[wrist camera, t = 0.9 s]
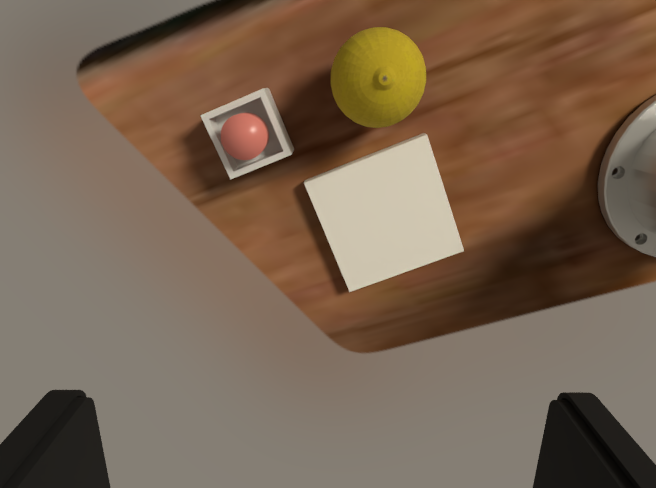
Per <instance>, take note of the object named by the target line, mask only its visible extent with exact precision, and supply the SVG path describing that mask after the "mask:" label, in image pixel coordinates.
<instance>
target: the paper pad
mask: <svg viewBox="0 0 656 488" xmlns="http://www.w3.org/2000/svg"><path fill="white" fill-rule="evenodd" d="M304 185H305V187H306V189H307V192H308V194H309V196H310V199H311V201H312V204H313V206H314V208H315V211H316V213H317V216H318V218H319V220H320V223H321V225H322V227H323V230H324V232H325V235H326V237H327V239H328V242H329V244H330V247H331V249H332V251H333V254H334V256H335V258H336V261H337V263H338V266H339V268H340V270H341V273H342V275H343V277H344V280H345V282H346V285H347V287H348V289H349V292H351V291H354V290H357V289H360V288H362V287H365V286H368V285H371V284H373V283H376V282H379V281H382V280H385V279H387V278H390V277H393V276H396V275H398V274H401V273H404V272H407V271H410V270H412V269H415V268H418V267H421V266H424V265H426V264H429V263H432V262H435V261H437V260H440V259H443V258H446V257H449V256H451V255H454V254H457V253H460V252H462V251H464V249H463V246H462V243H461V239H460V236H459V233H458V230H457V227H456V224H455V221H454V218H453V214H452V211H451V208H450V205H449V202H448V199H447V196H446V193H445V189H444V186H443V183H442V180H441V177H440V174H439V171H438V167H437V164H436V161H435V158H434V155H433V152H432V149H431V146H430V142H429V139H428V136H427V134H425V133H423V134H420V135H418V136H415V137H413V138H410V139H407V140H405V141H402V142H400V143H397V144H395V145H392V146H390V147H387V148H385V149H382V150H380V151H377V152H375V153H372V154H370V155H367V156H365V157H362V158H360V159H357V160H355V161H352V162H349V163H347V164H344V165H342V166H339V167H337V168H334V169H332V170H329V171H327V172H324V173H322V174H319V175H317V176H314V177H312V178H309V179H307V180H305V181H304Z"/></svg>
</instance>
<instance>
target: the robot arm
mask: <svg viewBox="0 0 656 488" xmlns="http://www.w3.org/2000/svg"><path fill="white" fill-rule="evenodd" d="M613 170H614V171H613ZM612 172H613V173H612ZM598 200H599V204H600V208H601V212H602V215H603V217H604V219H605V221H606V223H607V225H608V227H609V228H610V229H611V230H612V231H613V233H614V234H615V235H616V236H617V237H618V238H619V239H620V240H622V241H623V242H624V243H626V244H627V245H628V246H630V247H632V248H634V249H636V250H638V251H640V252H642V253H644V254H647V255H650V256H654V257H656V95H655V96H653V97H652V98H650V99H649V100H647V101H646V102H644V103H643V104H642V105H641V106H640V107H639V108H638V109H637V110H635V111H634V112H633V113H632V114H631V115H630V116H629V117H628V118H627V119H626V121H625V122H624V123H623V124H622V126H621V127H620V128H619V129H618V131H617V132H616V134H615V135H614V137H613V139H612V141H611V142H610V144H609V146H608V148H607V150H606V153H605V155H604V158H603V161H602V164H601V167H600V173H599V179H598ZM0 488H110V483H109V478H108V473H107V468H106V463H105V458H104V452H103V447H102V441H101V436H100V431H99V426H98V421H97V415H96V410H95V405H94V401H93V400H92V398H87V397H86V394H85V393H84V392H83V391H81V390H52V391H50V392H48V393H47V394H46V395H45V396H44V397H43V398H42V399H41V400H40V401H39V403H38V404H37V405H36V406H35V407H34V408H33V409H32V410H31V411H30V412H29V414H28V415H27V416H26V417H25V418H24V419H23V420H22V421H21V422H20V423H19V425H18V426H17V427H16V428H15V429H14V430H13V431H12V432H11V433H10V434H9V436H8V437H7V438H6V439H5V440H4V441H3V442H2V443H1V444H0ZM533 488H656V465H655V464H654V463H653V461H652V460H651V459H650V458H649V457H648V456H647V455H646V453H645V452H644V451H643V450H642V449H641V448H640V446H639V445H638V444H637V443H636V442H635V441H634V440H633V438H632V437H631V436H630V435H629V434H628V433H627V432H626V430H625V429H624V428H623V427H622V426H621V425H620V423H619V422H618V421H617V420H616V419H615V418H614V416H613V415H612V414H611V413H610V412H609V411H608V410H607V408H606V407H605V406H604V405H603V404H602V403H601V401H600V400H599V399H598V398H597V397H596V396H595V395H593V394H592V393H560V395H559V396H558V398H557V400H553V401H551V403H550V405H549V410H548V414H547V419H546V424H545V430H544V434H543V439H542V445H541V449H540V454H539V460H538V464H537V470H536V475H535V479H534V485H533Z"/></svg>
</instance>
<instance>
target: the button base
mask: <svg viewBox="0 0 656 488" xmlns="http://www.w3.org/2000/svg"><path fill="white" fill-rule="evenodd" d="M244 112H248V113H253V114H256V115H258V116H259V117H260V118H262V119H263V121H264V122H265V123H266V125H267V127H268V130H269V141H268V144H267V146H266V148H265V149H264V150H263V151H262V152H261V153H260V154H259V155H258V156H257V157H255V158H253V159H250V160H239V159H236V158H234V157H232V156H231V155H229V154H228V153H227V152H226V150H225V149H224V147H223V145H222V142H221V129H222V126H223V125H224V123H225V122H226V120H227V119H229V118H230V117H232V116H234V115H237V114H240V113H244ZM200 116H201V118H202V120H203V122H204V124H205V127H206V129H207V131H208V133H209V135H210V137H211V139H212V141H213V143H214V146H215V148H216V150H217V152H218V154H219V156H220V158H221V160H222V163H223V165H224V167H225V169H226V171H227V173H228V175H229V177H230V180H231V179H233V178H236V177H238V176H240V175H243V174H245V173H248V172H250V171H253V170H255V169H258V168H260V167H263V166H265V165H268V164H270V163H273V162H275V161H278V160H280V159H282V158H285V157H287V156H290V155H292V153H293V151H294V147H293V145H292V142H291V140H290V138H289V135H288V133H287V130H286V128H285V126H284V123H283V121H282V118H281V116H280V114H279V111H278V109H277V106H276V104H275V102H274V99H273V97H272V94H271V92H270V90H269V88H263V89H261V90H259V91H256V92H254V93H252V94H249V95H247V96H245V97H242V98H240V99H238V100H235V101H233V102H231V103H228V104H226V105H224V106H221V107H219V108H217V109H214V110H212V111H210V112H207V113H205V114H203V115H200Z"/></svg>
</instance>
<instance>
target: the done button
mask: <svg viewBox="0 0 656 488" xmlns="http://www.w3.org/2000/svg"><path fill="white" fill-rule="evenodd" d="M268 141H269V130H268V127H267V125H266V123H265V122H264V121H263V119H262V118H260V117H259V116H258V115H256V114H253V113H248V112H244V113H240V114H237V115H234V116H232V117H230V118H229V119H227V120H226V122H225V123H224V125H223V126H222V129H221V142H222V145H223V147H224V149H225V150H226V152H227V153H228V154H229V155H231V156H232V157H234V158H236V159H239V160H250V159H253V158H255V157H257V156H258V155H259V154H260V153H261V152H262V151H263V150H264V149H265V148H266V146H267V144H268Z"/></svg>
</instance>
